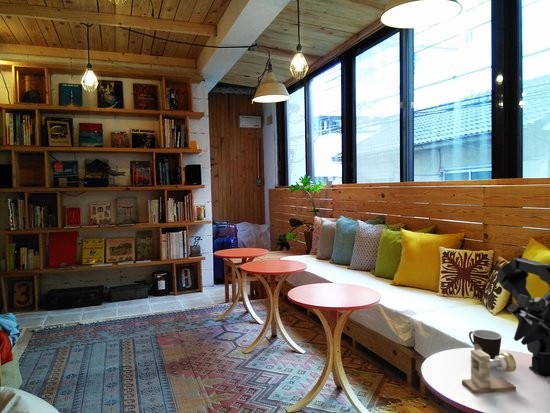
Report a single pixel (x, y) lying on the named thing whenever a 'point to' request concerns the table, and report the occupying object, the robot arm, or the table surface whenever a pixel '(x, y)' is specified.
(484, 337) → the coffee mug
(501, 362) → the shaft
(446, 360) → the table surface
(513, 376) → the table surface
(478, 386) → the bearing stand
